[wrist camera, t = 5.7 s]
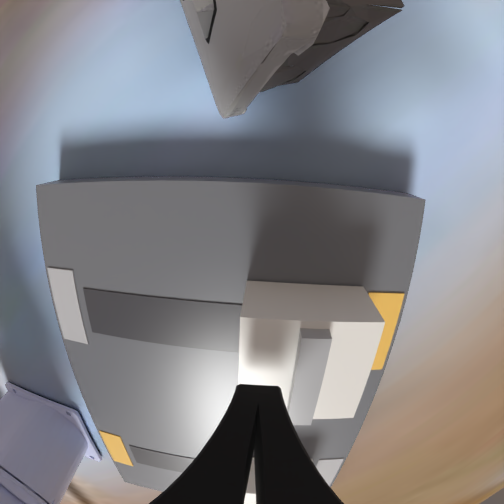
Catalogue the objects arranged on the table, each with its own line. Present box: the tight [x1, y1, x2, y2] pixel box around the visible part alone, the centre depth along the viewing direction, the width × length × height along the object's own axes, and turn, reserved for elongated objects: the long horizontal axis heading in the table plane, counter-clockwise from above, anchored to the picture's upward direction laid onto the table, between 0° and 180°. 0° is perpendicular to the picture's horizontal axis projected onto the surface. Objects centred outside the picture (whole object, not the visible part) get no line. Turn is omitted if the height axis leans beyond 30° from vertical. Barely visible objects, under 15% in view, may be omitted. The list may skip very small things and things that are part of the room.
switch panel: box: [36, 176, 425, 492], centre depth 17 cm, size 18×26×2 cm
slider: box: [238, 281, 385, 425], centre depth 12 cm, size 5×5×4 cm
